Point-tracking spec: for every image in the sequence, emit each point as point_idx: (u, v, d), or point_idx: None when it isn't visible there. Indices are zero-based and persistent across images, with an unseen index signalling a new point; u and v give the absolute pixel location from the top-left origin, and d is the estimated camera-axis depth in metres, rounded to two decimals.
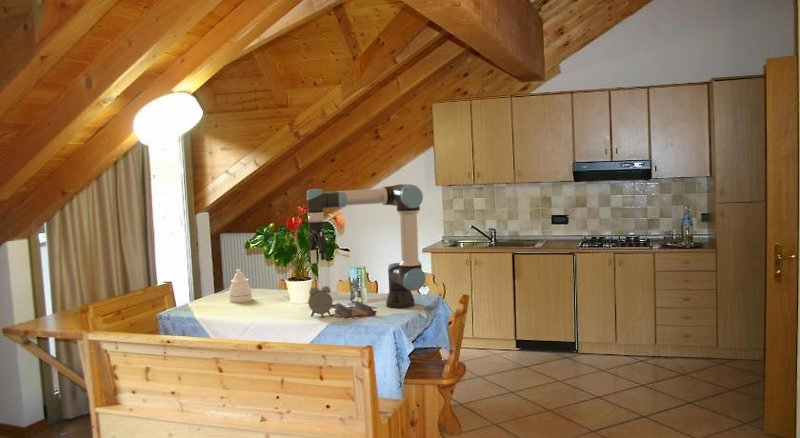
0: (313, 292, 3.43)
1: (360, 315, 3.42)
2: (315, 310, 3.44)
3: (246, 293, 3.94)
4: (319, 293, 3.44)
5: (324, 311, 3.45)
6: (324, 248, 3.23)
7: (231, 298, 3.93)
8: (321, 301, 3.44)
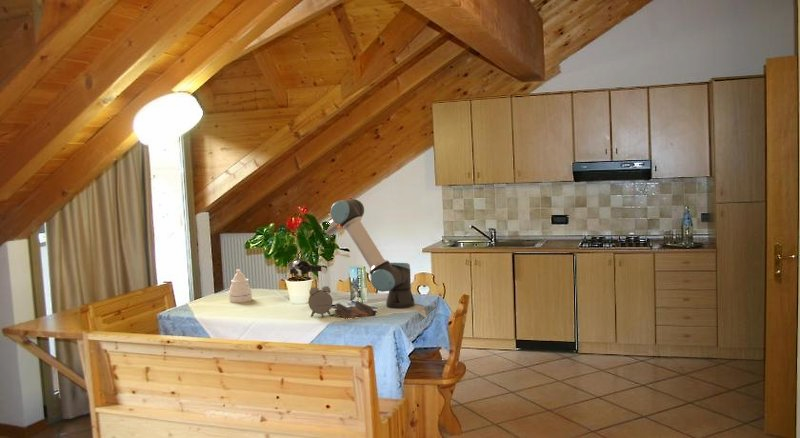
0: (313, 292, 3.43)
1: (360, 315, 3.42)
2: (315, 310, 3.44)
3: (246, 293, 3.94)
4: (319, 293, 3.44)
5: (324, 311, 3.45)
6: (290, 270, 3.58)
7: (231, 298, 3.93)
8: (321, 301, 3.44)
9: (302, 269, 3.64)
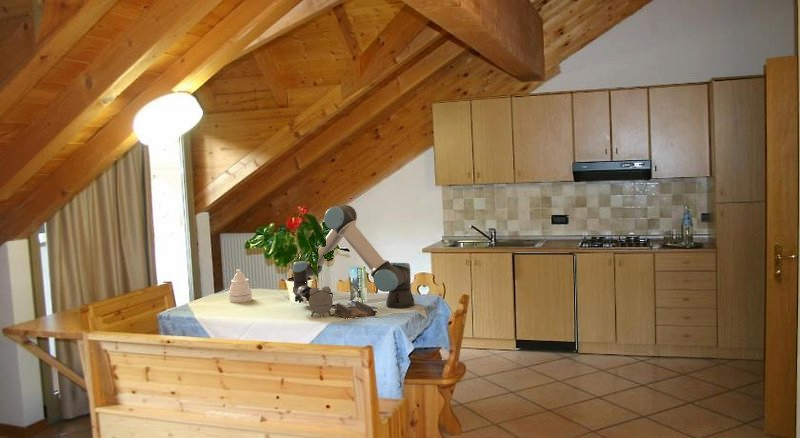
0: (313, 292, 3.43)
1: (360, 315, 3.42)
2: (315, 310, 3.44)
3: (246, 293, 3.94)
4: (319, 293, 3.44)
5: (324, 311, 3.45)
6: (295, 298, 3.52)
7: (231, 298, 3.93)
8: (321, 301, 3.44)
9: (307, 296, 3.58)
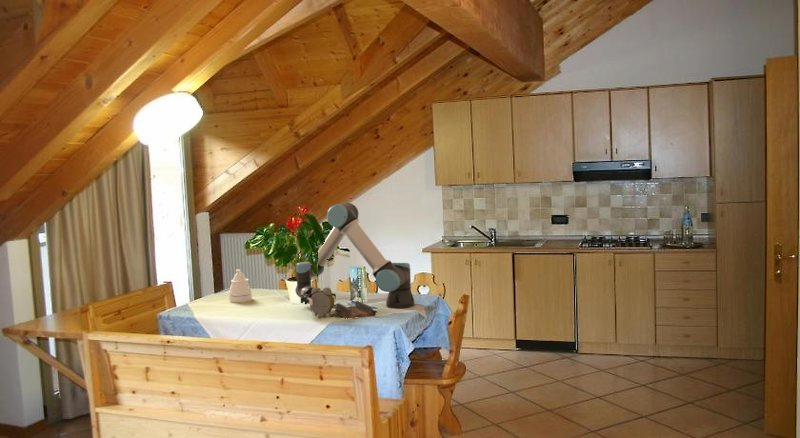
0: (312, 292, 3.44)
1: (360, 315, 3.42)
2: (314, 310, 3.44)
3: (246, 293, 3.94)
4: (317, 294, 3.42)
5: (322, 312, 3.42)
6: None
7: (231, 298, 3.93)
8: (319, 302, 3.42)
9: None
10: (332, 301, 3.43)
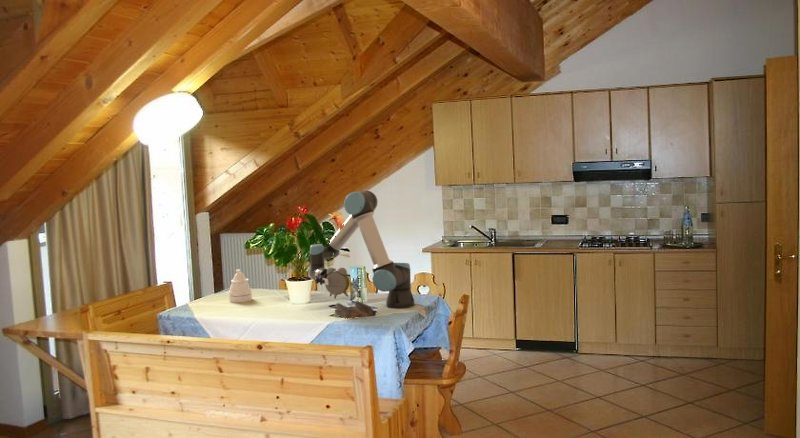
0: (328, 272, 3.45)
1: (360, 315, 3.42)
2: (329, 290, 3.45)
3: (246, 294, 3.94)
4: (333, 274, 3.44)
5: (338, 292, 3.44)
6: (316, 279, 3.48)
7: (231, 298, 3.93)
8: (334, 282, 3.44)
9: None
10: (347, 281, 3.45)
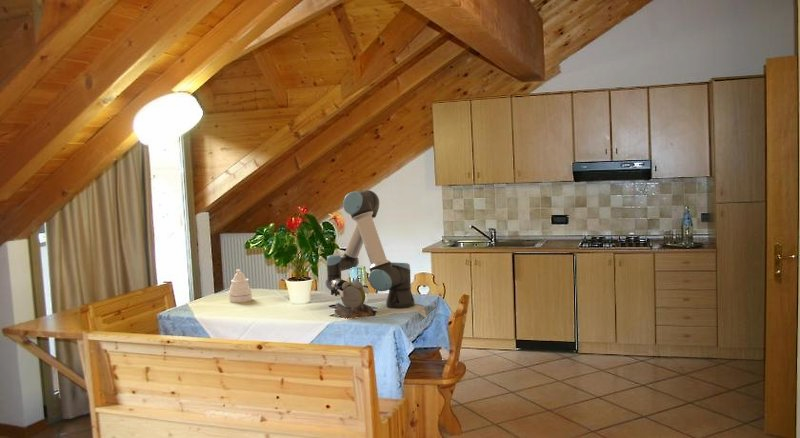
0: (343, 287, 3.47)
1: (360, 315, 3.42)
2: (346, 304, 3.47)
3: (246, 293, 3.94)
4: (348, 288, 3.46)
5: (354, 306, 3.45)
6: (331, 291, 3.50)
7: (231, 298, 3.93)
8: (350, 296, 3.46)
9: (342, 289, 3.56)
10: (363, 294, 3.46)
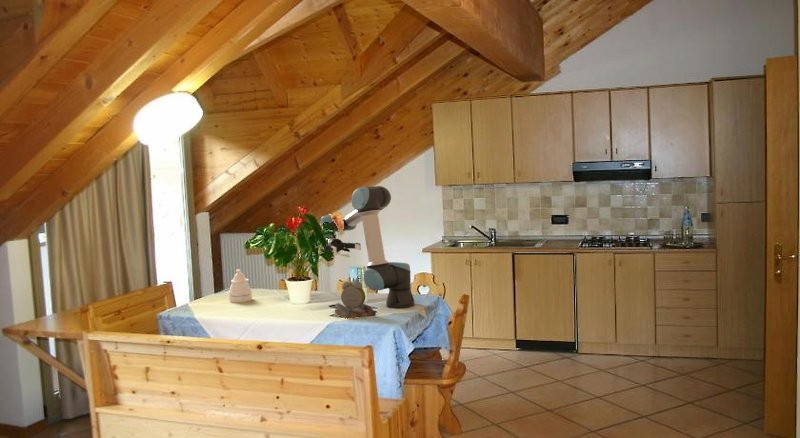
0: (343, 287, 3.47)
1: (360, 315, 3.42)
2: (346, 304, 3.47)
3: (246, 293, 3.94)
4: (348, 288, 3.46)
5: (354, 306, 3.45)
6: (325, 247, 3.64)
7: (231, 298, 3.93)
8: (350, 296, 3.46)
9: (336, 246, 3.70)
10: (363, 294, 3.46)
